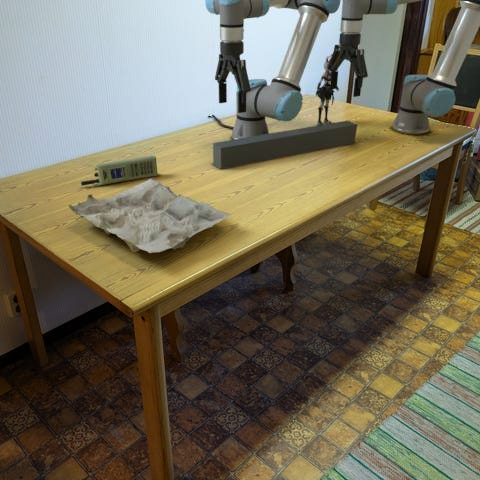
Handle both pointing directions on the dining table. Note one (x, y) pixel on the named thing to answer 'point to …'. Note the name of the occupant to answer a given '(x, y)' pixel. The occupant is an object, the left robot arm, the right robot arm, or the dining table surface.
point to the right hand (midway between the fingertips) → (344, 92)
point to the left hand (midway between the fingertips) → (232, 107)
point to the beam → (282, 144)
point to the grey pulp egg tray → (149, 216)
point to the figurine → (325, 92)
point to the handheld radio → (124, 170)
